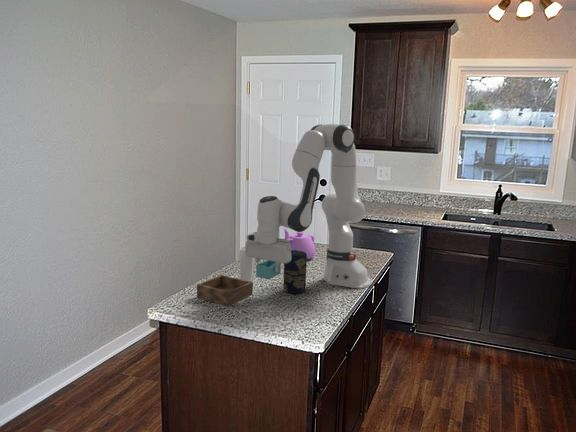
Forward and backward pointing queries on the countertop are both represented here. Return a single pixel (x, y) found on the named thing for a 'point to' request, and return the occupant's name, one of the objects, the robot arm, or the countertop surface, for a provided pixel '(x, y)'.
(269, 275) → the teal crate
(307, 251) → the teapot
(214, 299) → the walnut crate
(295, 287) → the canister
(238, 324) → the countertop surface
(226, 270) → the countertop surface
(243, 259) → the white cup
